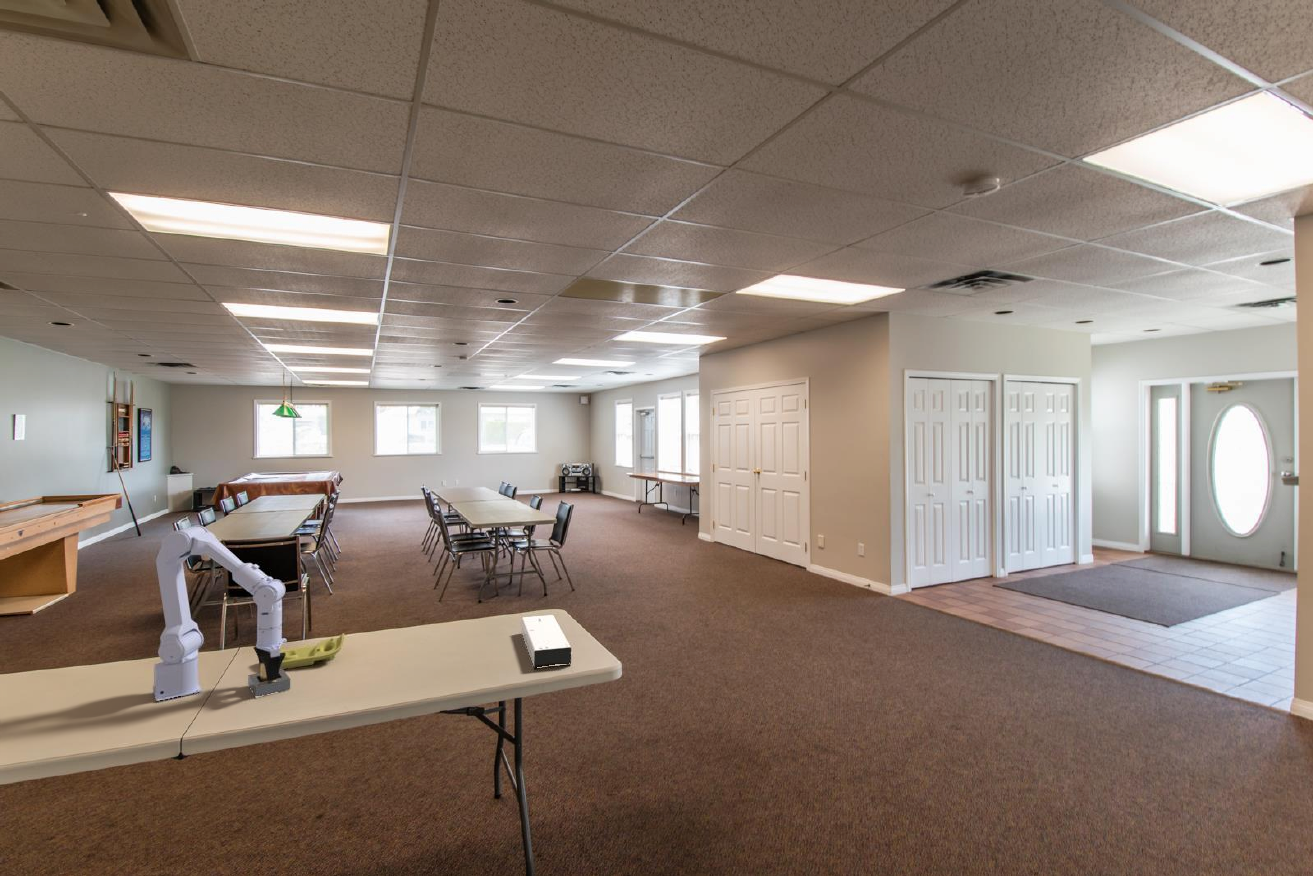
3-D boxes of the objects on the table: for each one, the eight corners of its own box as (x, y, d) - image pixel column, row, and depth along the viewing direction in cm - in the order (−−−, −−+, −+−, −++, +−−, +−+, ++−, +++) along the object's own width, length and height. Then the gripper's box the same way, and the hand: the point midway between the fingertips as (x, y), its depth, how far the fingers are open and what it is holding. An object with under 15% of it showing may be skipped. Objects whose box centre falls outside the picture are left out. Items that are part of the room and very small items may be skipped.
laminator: (521, 634, 217) (521, 617, 217) (556, 631, 221) (556, 614, 221) (534, 671, 185) (534, 650, 185) (574, 667, 189) (575, 647, 189)
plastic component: (266, 664, 179) (273, 639, 188) (270, 682, 182) (277, 657, 191) (341, 653, 186) (345, 629, 194) (345, 670, 189) (348, 646, 197)
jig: (255, 698, 163) (255, 687, 162) (248, 686, 170) (248, 675, 170) (290, 689, 168) (290, 678, 168) (281, 678, 175) (281, 667, 175)
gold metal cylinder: (260, 692, 166) (260, 666, 166) (259, 687, 169) (260, 661, 169) (278, 689, 168) (278, 663, 168) (276, 683, 172) (277, 658, 172)
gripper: (292, 629, 166) (292, 679, 166) (280, 617, 177) (279, 664, 177) (262, 635, 161) (261, 687, 161) (251, 621, 172) (250, 670, 172)
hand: (269, 675), depth 169 cm, fingers open, 7 cm apart
